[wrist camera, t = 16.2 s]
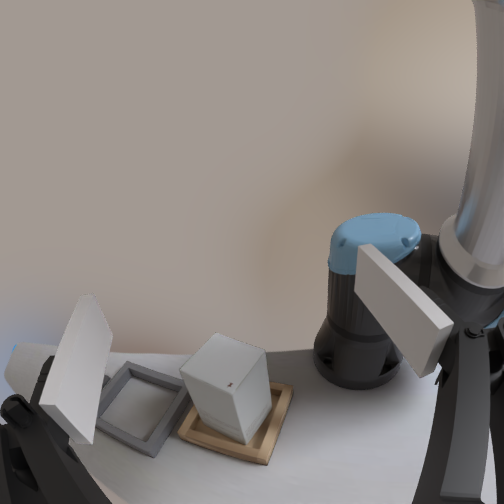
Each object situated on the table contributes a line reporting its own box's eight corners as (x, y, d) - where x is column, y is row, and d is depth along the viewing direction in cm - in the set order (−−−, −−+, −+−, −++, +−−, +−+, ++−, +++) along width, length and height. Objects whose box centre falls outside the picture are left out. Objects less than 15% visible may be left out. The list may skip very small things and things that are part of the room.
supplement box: (274, 407, 39) (268, 349, 33) (246, 447, 33) (231, 396, 27) (230, 389, 42) (215, 329, 37) (201, 424, 37) (176, 369, 31)
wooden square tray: (216, 377, 45) (214, 369, 44) (292, 394, 41) (292, 385, 40) (181, 439, 35) (177, 432, 34) (267, 465, 31) (266, 459, 30)
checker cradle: (128, 367, 48) (124, 360, 47) (195, 390, 43) (192, 383, 42) (86, 420, 37) (80, 414, 36) (154, 458, 32) (149, 452, 31)
